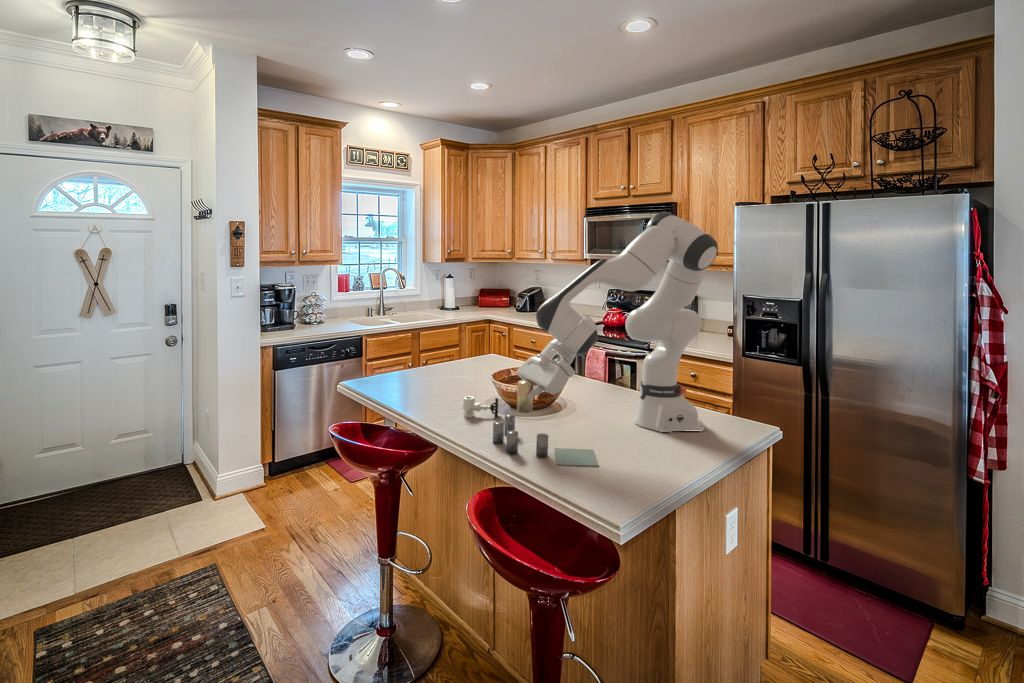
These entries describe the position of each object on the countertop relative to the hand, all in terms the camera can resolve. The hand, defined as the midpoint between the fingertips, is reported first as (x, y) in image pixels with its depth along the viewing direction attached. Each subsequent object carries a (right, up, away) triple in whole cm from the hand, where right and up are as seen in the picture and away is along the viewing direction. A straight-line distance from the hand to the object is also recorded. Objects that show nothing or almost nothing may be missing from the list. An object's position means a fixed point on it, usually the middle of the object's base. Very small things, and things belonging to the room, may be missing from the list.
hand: (523, 395), depth 155 cm
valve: (-14, -10, +28) cm, 33 cm away
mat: (+14, -16, -7) cm, 23 cm away
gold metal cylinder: (0, -4, +1) cm, 5 cm away
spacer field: (-2, -15, 0) cm, 15 cm away
